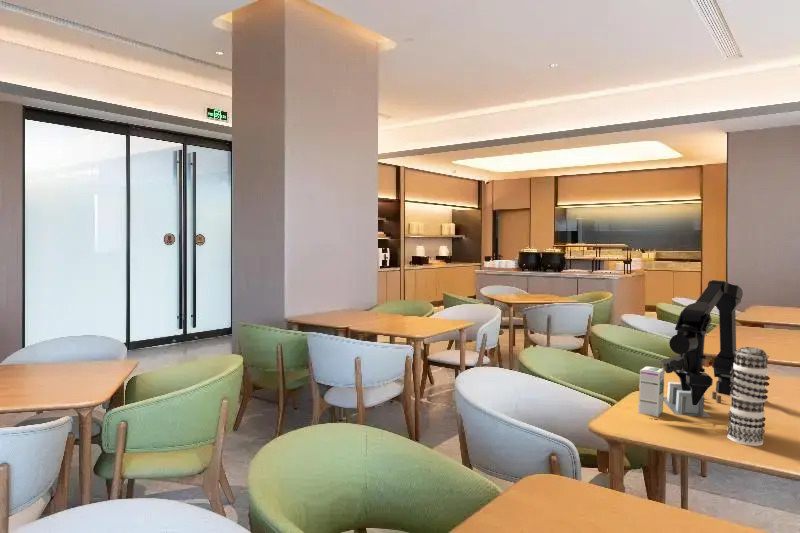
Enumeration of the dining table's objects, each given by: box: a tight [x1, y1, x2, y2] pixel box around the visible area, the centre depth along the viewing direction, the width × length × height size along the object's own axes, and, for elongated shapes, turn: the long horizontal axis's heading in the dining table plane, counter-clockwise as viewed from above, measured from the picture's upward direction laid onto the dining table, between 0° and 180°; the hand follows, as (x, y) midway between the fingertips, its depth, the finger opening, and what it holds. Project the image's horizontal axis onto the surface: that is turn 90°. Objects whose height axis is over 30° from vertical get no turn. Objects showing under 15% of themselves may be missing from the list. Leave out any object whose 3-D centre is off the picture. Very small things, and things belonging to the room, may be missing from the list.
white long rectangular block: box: [676, 390, 705, 413], centre depth 173 cm, size 7×2×6 cm, turn 79°
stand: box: [711, 391, 722, 404], centre depth 186 cm, size 8×6×3 cm
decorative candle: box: [726, 346, 771, 447], centre depth 153 cm, size 9×9×25 cm
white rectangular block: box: [666, 381, 682, 402], centre depth 183 cm, size 7×2×6 cm, turn 79°
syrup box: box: [637, 366, 665, 421], centre depth 171 cm, size 6×6×14 cm
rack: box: [663, 386, 711, 418], centre depth 178 cm, size 10×18×7 cm, turn 169°
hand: (689, 400), depth 173 cm, fingers open, 9 cm apart
